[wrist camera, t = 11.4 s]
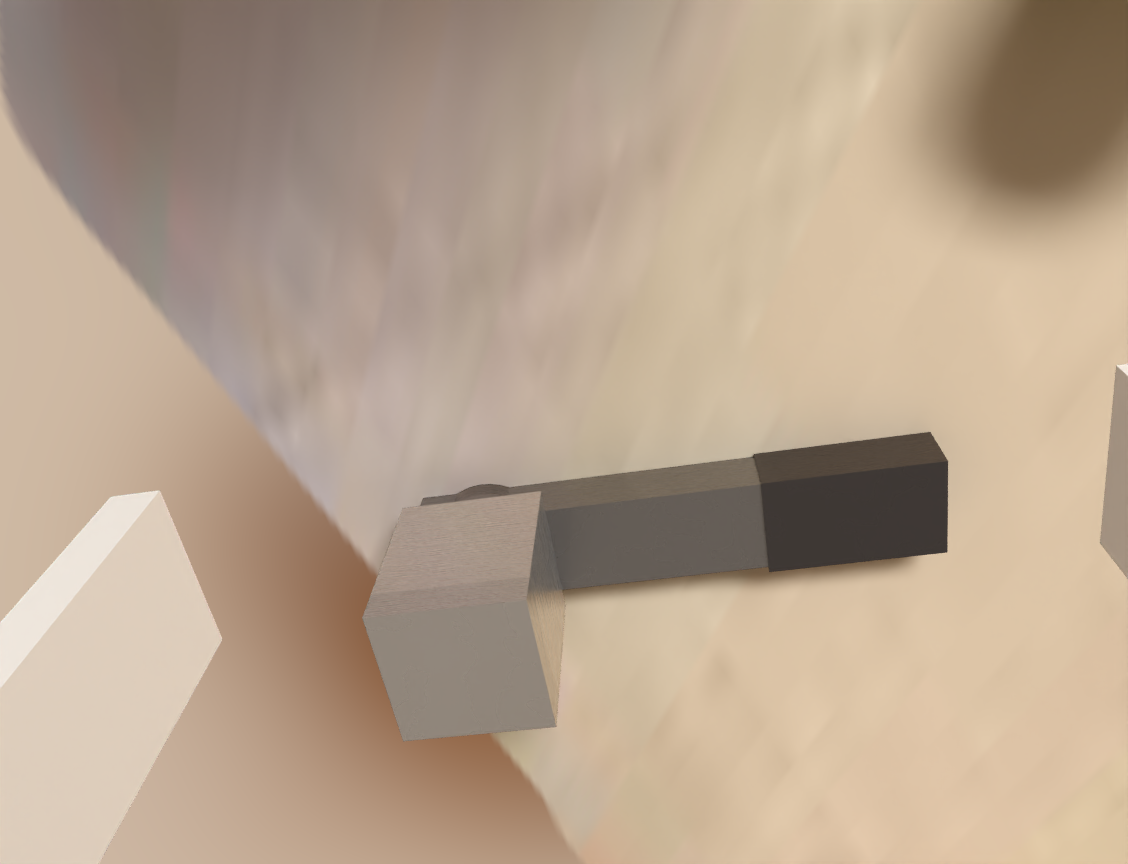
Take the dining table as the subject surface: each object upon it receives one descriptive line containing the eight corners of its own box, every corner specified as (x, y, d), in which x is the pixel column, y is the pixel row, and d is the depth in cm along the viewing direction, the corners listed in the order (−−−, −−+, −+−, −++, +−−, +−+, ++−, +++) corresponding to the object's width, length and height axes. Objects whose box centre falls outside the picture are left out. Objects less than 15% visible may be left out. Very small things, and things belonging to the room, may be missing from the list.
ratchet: (445, 578, 50) (422, 664, 44) (421, 492, 47) (394, 571, 42) (930, 523, 47) (974, 607, 41) (930, 428, 45) (976, 503, 39)
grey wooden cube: (402, 508, 45) (362, 618, 38) (541, 491, 44) (526, 600, 37) (435, 620, 48) (403, 741, 41) (565, 605, 47) (556, 726, 40)
